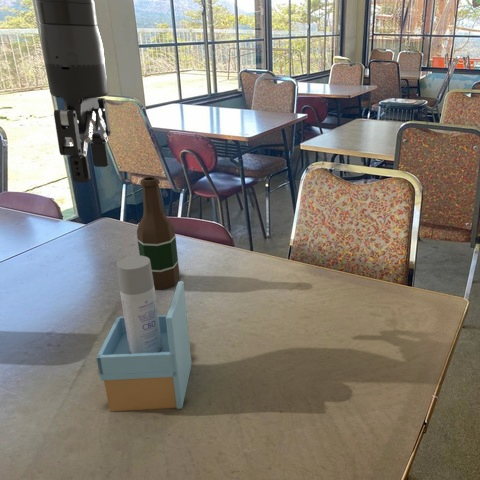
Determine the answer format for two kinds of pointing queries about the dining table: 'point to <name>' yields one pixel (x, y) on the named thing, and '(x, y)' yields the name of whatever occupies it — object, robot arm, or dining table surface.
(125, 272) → the container
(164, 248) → the beer bottle
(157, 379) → the blue and tan box
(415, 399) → the dining table surface
